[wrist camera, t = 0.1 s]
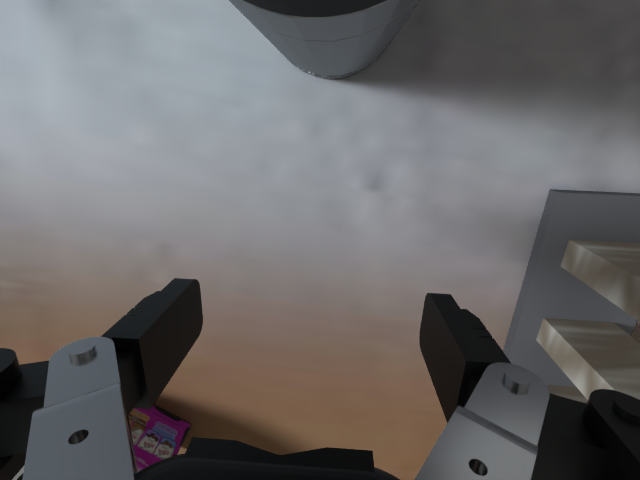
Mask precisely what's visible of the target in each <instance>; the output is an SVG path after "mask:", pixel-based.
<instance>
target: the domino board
mask: <svg viewBox="0 0 640 480" xmlns="http://www.w3.org/2000/svg"><path fill="white" fill-rule="evenodd" d="M569 240H587V241H606V242H626V243H640V194H637V193H615V192H594V191H572V190H551V189H550V191H549V195H548V198H547V202H546V205H545V209H544V212H543V216H542V219H541V223H540V226H539V229H538V233H537V236H536V240H535V243H534V247H533V250H532V254H531V257H530V260H529V264H528V267H527V271H526V274H525V278H524V281H523V285H522V288H521V292H520V295H519V298H518V302H517V305H516V309H515V312H514V316H513V319H512V323H511V326H510V330H509V333H508V336H507V340H506V343H505V347H504V350H503V352H504V354H505V355H506V356H507V358H508V359H509V361H510V362H511V363H512V364H515V365H518V366H521V367H523V368H525V369H527V370H529V371H531V372H533V373H534V374H536V375H537V376H538V377H539V378H541V379H542V380H543V381H544V382H545V384H546V385H555V386H570V387H576V386H575V385H574V384H573V382H572V381H571V380H570V379H569V378H568V377H567V375H566V374H565V373H564V372H563V371H562V370H561V368H560V367H559V366H558V365H557V364H556V363H555V361H554V360H553V359H552V358H551V357H550V356H549V354H548V353H547V352H546V351H545V350H544V349H543V347H542V346H541V345H540V344H539V343H538V342H537V340H536V339H537V336H538V333H539V330H540V327H541V324H542V321H543V318H553V319H569V320H585V321H602V322H613V323H615V324H616V325H617V326H618V327H620V328H621V329H622V330H624V331H625V332H626V333H627V334H629V335H630V336H631V334H632V332H633V329H634V327H635V325H636V323H637V321H638V320H636V319H635V318H633V317H632V316H630V315H629V314H628V313H626V312H625V311H623V310H622V309H620V308H619V307H618V306H616V305H615V304H613V303H612V302H611V301H609V300H608V299H606V298H605V297H603V296H602V295H601V294H599V293H598V292H596V291H595V290H593V289H592V288H591V287H589V286H588V285H586V284H585V283H583V282H582V281H581V280H579V279H578V278H576V277H575V276H573V275H572V274H571V273H569V272H568V271H566V270H565V269H564V268H562V267H561V263H562V260H563V257H564V254H565V251H566V248H567V245H568V242H569Z"/></svg>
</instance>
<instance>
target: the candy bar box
mask: <svg viewBox="0 0 640 480" xmlns="http://www.w3.org/2000/svg"><path fill="white" fill-rule="evenodd" d="M128 416H129V421H130V427H131V433H132V439H133V445H134V451H135V456H136V462H137V468H138V472H139V471H140V470H142V469H144V468H146V467H148V466H150V465H152V464H154V463H156V462H158V461H161V460H163V459H166V458H169V457H172V456H176V455H177V454H178V452H179V450H180V448H181V446H182V444H183V442H184V440H185V438H186V435H187V433H188V431H189V429H190V426H191V425H190V424H189V423H188V422H186V421H184V420H182V419H180V418H178V417H176V416H174V415H172V414H170V413H168V412H166V411H164V410H162V409H160V408H158V407H156V406H154V405H153V406H152V408H151V409H141V408H133V410H132V411H131V412H130V414H129V415H128ZM22 478H23V473H22V474H21V475H20V477H19V478H18V479H17V480H22Z"/></svg>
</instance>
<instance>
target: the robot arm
mask: <svg viewBox="0 0 640 480" xmlns="http://www.w3.org/2000/svg"><path fill="white" fill-rule="evenodd" d="M229 1H230V2H231V3H232V4H233V5H234V6H235V7H236V8H237V9H238V10H239V11H240V12H241V13H242V14H243V15H244V16H245V17H246V18H247V19H248V20H249V21H250V22H251V23H252V24H253V25H254V26H255V27H256V28H257V29H258V30H259V31H260V32H261V33H262V34H263V35H264V36H265V37H266V38H267V39H268V40H269V41H270V42H271V43H272V44H273V45H274V46H275V47H276V48H277V49H278V50H279V51H280V52H281V53H282V54H283V55H284V56H285V57H286V58H287V59H288V60H289V61H290V62H291V63H292V64H293V65H295V66H296V67H297V68H299V69H300V70H302V71H303V72H305V73H308V74H310V75H313V76H315V77H320V78H327V79H335V78H344V77H347V76H350V75H353V74H356V73H358V72H359V71H361V70H363V69H364V68H366V67H368V66H369V65H370V64H371V63H372V62H373V61H374V60H375V59H377V58H378V57H379V55H380V54H381V53H382V51H383V50H384V49H385V47H386V46H387V45H388V44H389V43H390V41H391V40H392V39H393V37H394V36H395V35H396V33H397V32H398V30H399V29H400V28H401V26H402V25H403V24H404V22H405V21H406V19H407V18H408V17H409V15H410V14H411V13H412V11H413V10H414V9H415V7H416V6H417V4H418V3H419V2H420V0H229ZM202 324H203V315H202V304H201V293H200V285H199V282H198V280H196V279H179V278H175V279H173V280H172V281H171V282H170V283H169V284H168V285H167V286H166V287H165V288H164V289H163V290H161V291H157V292H155V293H153V294H151V295H149V296H147V297H145V298H144V299H143V300H141V301H140V302H139V303H138V304H137V305H136V306H135V308H132V309H131V310H130V311H129V312H128V313H127V315H125V316H123V317H122V318H121V319H120V320H119V321H118V322H117V323H116V324H114V325H113V326H112V327H111V328H110V329H109V330H108V331H107V332H105V333H104V334H103V335H102V336H101V337H90V338H85V339H81V340H77V341H75V342H72V343H70V344H68V345H66V346H64V347H62V348H61V349H59V350H58V351H57V352H55V353H54V354H53V356H52V357H51V358H50V360H49V361H43V362H36V363H29V364H22V365H19V363H18V360H17V356H16V353H15V352H14V351H13V350H11V349H6V348H0V480H12V479H13V478H14V476H15V475H16V474H17V473H18V472H19V470H20V469H21V468H22V467H23V466H24V472H23V478H22V480H400V479H398V478H396V477H395V476H393V475H391V474H389V473H387V472H385V471H383V470H380V469H378V468H375V467H374V461H373V451H368V450H355V449H341V448H328V447H327V448H321V449H316V450H310V451H304V452H298V453H292V454H286V455H277V454H274V453H271V452H268V451H265V450H262V449H259V448H256V447H253V446H250V445H247V444H245V443H242V442H239V441H235V440H221V439H208V438H194V437H193V438H192V440H191V442H190V444H189V446H188V448H187V451H186V453H185V454H180V455H176V456H172V457H169V458H166V459H163V460H161V461H158V462H156V463H154V464H152V465H150V466H148V467H146V468H144V469H142V470H140V471H139V472H138V468H137V462H136V456H135V451H134V445H133V439H132V433H131V427H130V421H129V416H128V415H129V414H130V412H131V411H132V410H133V408H141V409H151V408H152V406H153V405H154V403H155V402H156V400H157V399H158V397H159V396H160V394H161V393H162V391H163V390H164V388H165V387H166V385H167V384H168V382H169V381H170V379H171V377H172V376H173V374H174V373H175V371H176V370H177V368H178V367H179V365H180V364H181V362H182V361H183V359H184V358H185V356H186V355H187V353H188V352H189V350H190V349H191V347H192V346H193V344H194V343H195V341H196V340H197V338H198V337H199V335H200V333H201V329H202ZM420 348H421V352H422V354H423V357H424V360H425V363H426V365H427V368H428V371H429V374H430V376H431V379H432V382H433V385H434V387H435V390H436V393H437V396H438V398H439V401H440V404H441V407H442V409H443V412H444V415H445V418H446V420H447V425H446V427H445V429H444V430H443V432H442V434H441V435H440V437H439V439H438V441H437V442H436V444H435V446H434V447H433V449H432V451H431V453H430V454H429V456H428V458H427V459H426V461H425V463H424V465H423V466H422V468H421V470H420V471H419V473H418V475H417V476H416V478H415V480H640V400H639V399H637V398H635V397H633V396H630V395H628V394H625V393H622V392H619V391H615V390H609V389H597V390H594V391H593V392H591V394H590V396H589V399H588V402H587V403H583V402H579V401H576V400H572V399H569V398H565V397H561V396H558V395H555V394H552V393H550V391H549V388H548V386H547V385H546V384H545V382H544V381H543V380H542V379H541V378H539V377H538V376H537V375H536V374H534V373H533V372H531V371H529V370H527V369H525V368H523V367H521V366H518V365H515V364H512V363H511V362H510V361H509V359H508V358H507V356H506V355H505V354H504V352H503V351H502V350H501V348H500V347H499V345H498V344H497V343H496V341H495V340H494V339H492V336H491V334H490V333H489V332H488V330H486V327H485V326H484V325H483V323H482V322H481V321H480V319H479V318H478V317H476V316H475V315H474V314H472V313H471V312H469V311H468V310H467V309H460V308H459V306H458V305H457V303H456V302H455V300H454V299H453V297H452V296H451V295H450V294H437V293H427V295H426V297H425V302H424V309H423V315H422V321H421V328H420Z"/></svg>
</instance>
